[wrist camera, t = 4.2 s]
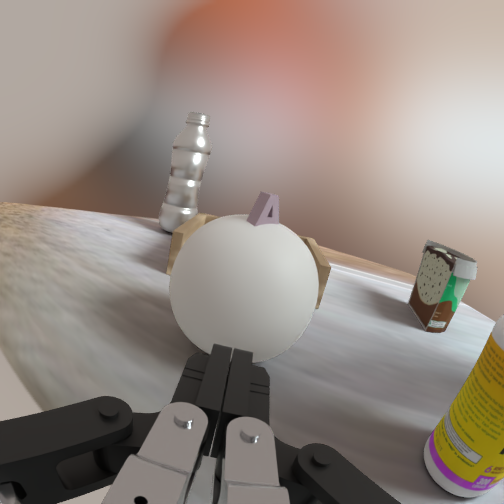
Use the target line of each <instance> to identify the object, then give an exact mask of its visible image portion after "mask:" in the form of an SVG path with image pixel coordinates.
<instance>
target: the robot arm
mask: <svg viewBox="0 0 504 504" xmlns="http://www.w3.org/2000/svg"><path fill="white" fill-rule="evenodd" d="M231 353H232V347H227V346H223V345H219V344H215V343H214V344H213V347H212V351H211V354H210V356H209V355H205V354H201V353H196V354H194V355H193V356H191V357H190V358H189V359H188V361H187V363H186V366H185V369H184V371H183V373H182V376H181V378H180V381H179V383H178V386H177V388H176V391H175V393H174V396H173V398H172V401H171V403H170V404H168V405H166V406H165V407H164V408H163V409H162V410H161V411H160V412H156V413H133V412H132V410H131V408H130V406H129V405H128V404H127V403H126V402H124V401H123V400H121V399H118V398H115V397H111V396H101V397H97V398H94V399H90V400H87V401H83V402H79V403H76V404H72V405H68V406H65V407H61V408H57V409H53V410H49V411H45V412H41V413H37V414H32V415H28V416H24V417H19V418H15V419H10V420H5V421H0V504H57V503H60V502H63V501H66V500H69V499H73V498H75V497H78V496H81V495H84V494H87V493H90V492H92V491H95V490H98V489H100V488H103V487H105V486H108V485H111V484H112V486H111V488H110V489H109V491H108V493H107V495H106V497H105V498H104V500H103V502H102V503H101V504H186V502H187V499H188V497H189V494H190V491H191V488H192V485H193V482H194V479H195V476H196V473H197V470H198V469H199V468H200V465H201V461H202V457H203V455H204V456H209V452H210V448H211V444H212V441H213V437H214V433H215V437H214V442H213V447H212V452H211V457H214V458H217V461H216V466H215V470H214V473H213V478H212V491H211V504H401V503H400V502H399V501H397V500H396V499H395V498H393V497H392V496H391V495H389V494H388V493H387V492H386V491H384V490H383V489H382V488H380V487H379V486H378V485H377V484H375V483H374V482H373V481H372V480H370V479H369V478H368V477H367V476H366V475H364V474H363V473H362V472H361V471H360V470H358V469H357V468H356V467H355V466H354V465H352V464H351V463H350V462H349V461H348V460H346V459H345V458H344V457H343V456H342V455H341V454H339V453H338V452H337V451H336V450H335V449H333V448H331V447H329V446H327V445H324V444H317V443H314V444H308V445H306V446H304V447H303V448H302V449H301V450H300V449H298V448H295V447H292V446H290V445H287V444H285V443H283V442H281V441H280V440H279V439H277V438H276V437H275V436H274V434H273V431H272V429H271V428H270V427H269V390H270V388H269V386H270V377H269V375H268V373H267V372H266V370H265V368H263V367H258V366H253V365H252V360H253V352H250V351H245V350H241V349H236V348H234V350H233V354H232V358H231ZM230 358H231V363H230ZM229 363H230V367H229ZM228 368H229V371H228ZM227 373H228V375H227ZM226 378H227V379H226ZM217 421H218V422H217ZM216 425H217V427H216ZM215 429H216V432H215Z"/></svg>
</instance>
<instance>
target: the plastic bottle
mask: <svg viewBox="0 0 504 504" xmlns="http://www.w3.org/2000/svg"><path fill="white" fill-rule="evenodd" d="M209 120H210V116H209V115H205V114H201V113H194V112H190V113H189V114H188V118H187V121H186V123H187V127H186V128H185V129H184V130H183V131H182V132H180V134H179V135H178V136H177V137H176V138H175V140H174V143H173V151H172V164H171V172H170V178H169V184H168V188H167V191H166V195H165V199H164V202H163V204H162V207H161V210H160V213H159V224H160V226H161V228H162V229H163V230H165V231H168V232H171V233H173V231H174V230H175V229H177V228H178V227H179V226H181V225H182V224H184V223H185V222H187V221H188V220H190V219H191V218H193V217H194V216H196V215H197V214H198V212H197V205H198V196H199V188H200V185H201V180H202V177H203V173H204V169H205V167H206V164H207V162H208V159H209V155H210V153H211V150H212V148H211V141H210V138H209V136H208V133H207V131H206V128H207V127H209Z"/></svg>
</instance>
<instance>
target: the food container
mask: <svg viewBox="0 0 504 504" xmlns="http://www.w3.org/2000/svg"><path fill="white" fill-rule="evenodd" d="M423 253H424V254H423V258H422V261H421V264H420V268H419V271H418V274H417V277H416V281H415V284H414V287H413V290H412V293H411V296H410V299H409V302H408V305H409V307H410V308H411V310H412V311H413V313H414V314H415V316H416V317H417V319H418V320H419V322H420V324H421V325H422V327H423V328H424V330H425V331H427V332H432V333H441V332H444V331H445V330H446V328H447V326H448V324H449V322H450V321H451V319H452V317H453V315H454V313H455V311H456V309H457V307H458V305H459V303H460V301H461V299H462V297H463V294H464V292H465V290H466V288H467V286H468V284H469V282H470V280H474V279H476V273H477V267H476V264H477V261H475V260H474V259H473V258H471V257H469V256H467V255H465V254H463V253H460V252H458V251H456V250H454V249H451V248H448V247H446V246H444V245H441V244H438V243H435V242H433V241H430V240H427V243H426V244H425V247H424V249H423Z"/></svg>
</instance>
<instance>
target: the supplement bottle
mask: <svg viewBox="0 0 504 504" xmlns="http://www.w3.org/2000/svg"><path fill="white" fill-rule="evenodd" d="M424 461H425V464H426V467H427V470H428V472H429V474H430V475H431V476H432V478H433V479H434V480H435V482H436V483H437V484H438V485H440V486H441V487H442V488H443V489H445V490H446V491H448V492H450V493H452V494H454V495H457V496H461V497H477V496H480V495H483V494H485V493H487V492H489V491H490V490H491V489H492V488H493V487H494V486H496V485H497V484H498V483H499V482H500V481H501V480H502V479H503V477H504V315H502V316H501V317H500V318H499V319H498V321H497V322H496V324H495V326H494V328H493V330H492V332H491V334H490V336H489V338H488V340H487V343H486V345H485V347H484V349H483V351H482V353H481V355H480V357H479V358H478V360H477V362H476V364H475V366H474V368H473V369H472V371H471V373H470V375H469V377H468V378H467V380H466V382H465V383H464V385H463V387H462V388H461V390H460V392H459V393H458V395H457V397H456V398H455V400H454V401H453V403H452V404H451V406H450V407H449V409H448V410H447V412H446V413H445V415H444V416H443V418H442V419H441V421H440V422H439V424H438V425H437V426H436V428H435V429H434V431H433V432H432V434H431V435H430V437H429V438H428V440H427V442H426V444H425V448H424Z"/></svg>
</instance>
